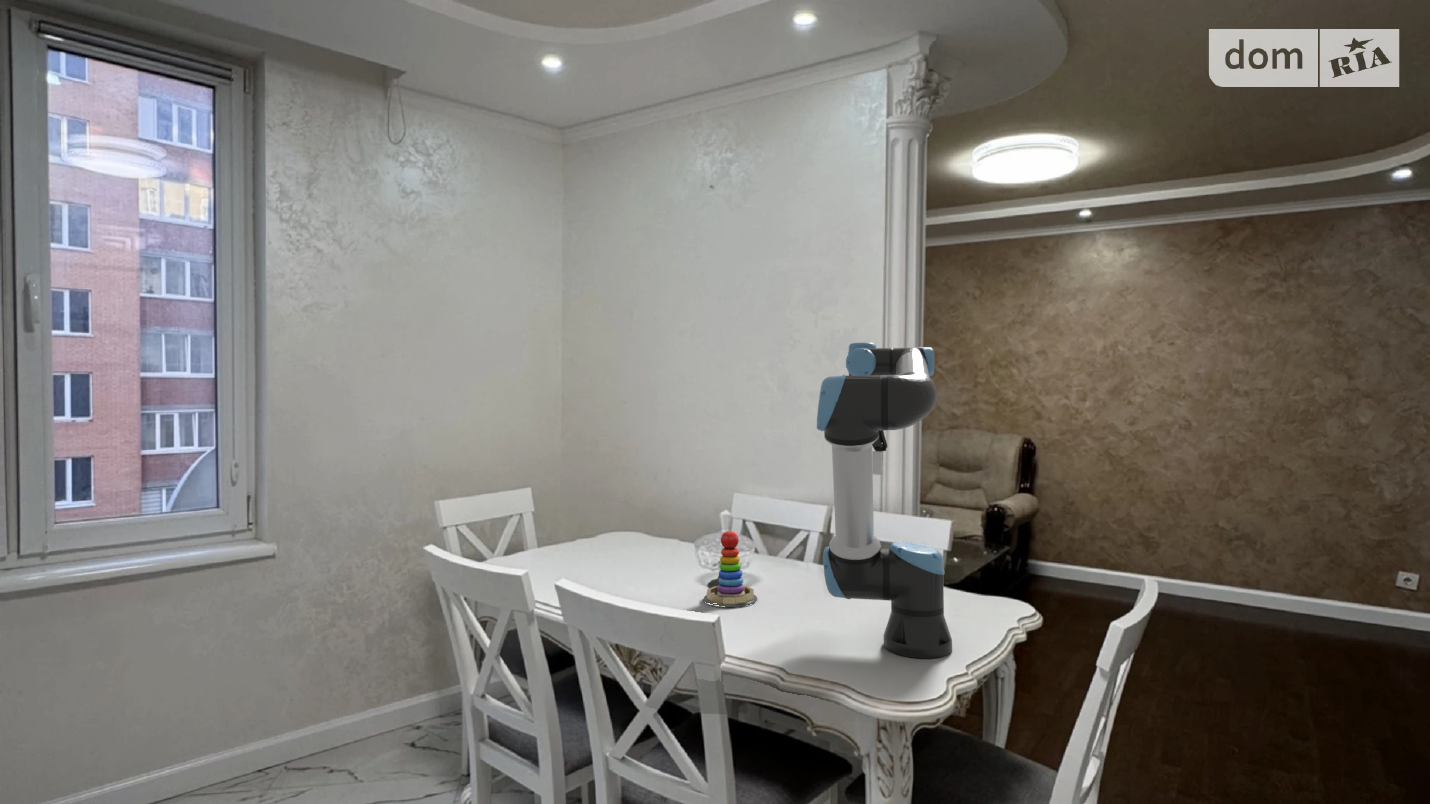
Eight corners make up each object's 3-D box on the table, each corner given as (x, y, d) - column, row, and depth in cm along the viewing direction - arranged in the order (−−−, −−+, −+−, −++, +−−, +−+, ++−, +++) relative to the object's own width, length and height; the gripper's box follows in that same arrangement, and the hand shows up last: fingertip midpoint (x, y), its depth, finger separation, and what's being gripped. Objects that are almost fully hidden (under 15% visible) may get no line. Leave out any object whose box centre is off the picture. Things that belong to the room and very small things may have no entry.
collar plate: (756, 608, 205) (756, 598, 205) (701, 607, 206) (701, 598, 206) (757, 593, 220) (757, 584, 220) (706, 592, 221) (706, 583, 221)
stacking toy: (750, 596, 214) (749, 530, 213) (735, 603, 207) (735, 535, 207) (726, 592, 218) (725, 527, 218) (711, 599, 211) (710, 532, 211)
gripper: (847, 400, 196) (847, 482, 196) (899, 398, 213) (900, 473, 214) (823, 400, 201) (824, 480, 202) (876, 398, 219) (877, 471, 219)
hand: (863, 476), depth 208 cm, fingers open, 13 cm apart
